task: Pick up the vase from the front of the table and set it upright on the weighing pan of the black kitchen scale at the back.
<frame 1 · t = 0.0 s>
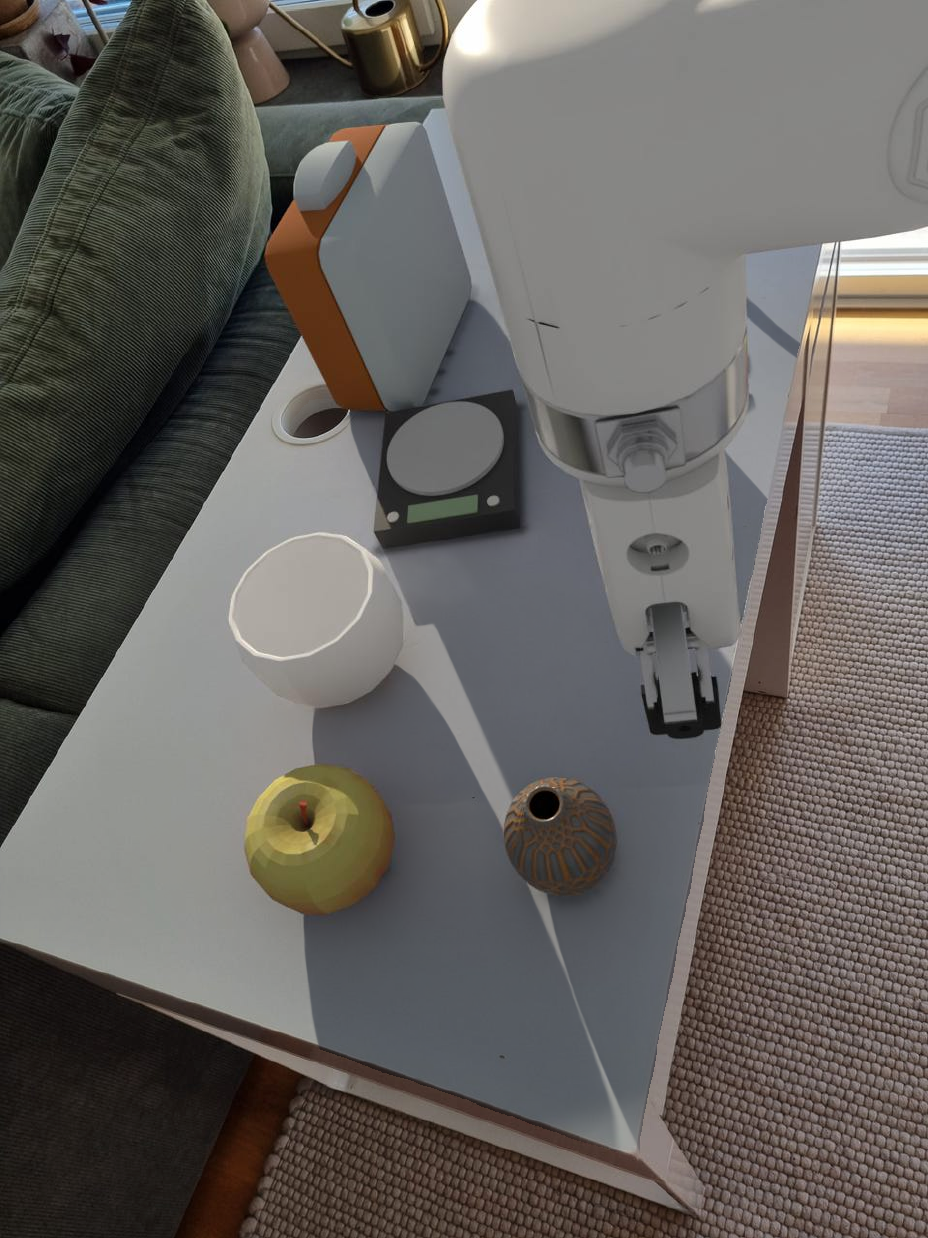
hand: (674, 637, 46), 19 cm above the table, tool pointing down, fingers open, 9 cm apart
alarm clock: (410, 351, 94), on the table
vase: (570, 856, 61), on the table
cup: (594, 372, 85), on the table
apple: (342, 858, 65), on the table
teapot: (582, 221, 98), on the table
cup 2: (349, 663, 75), on the table
scale: (452, 476, 83), on the table
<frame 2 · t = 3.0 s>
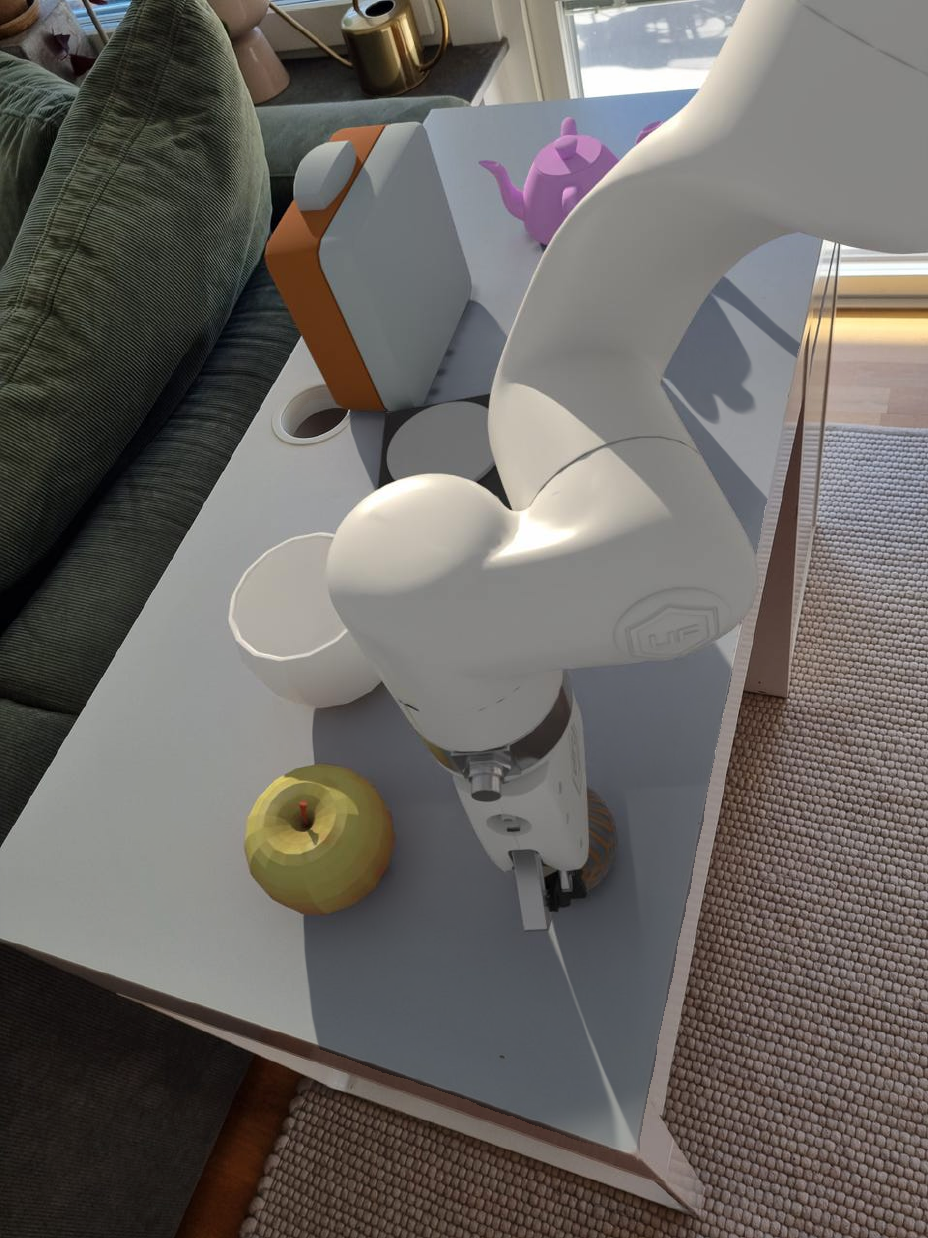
hand: (558, 832, 58), 4 cm above the table, tool pointing down, fingers closed on vase, 6 cm apart
vase: (570, 856, 61), on the table, touching gripper
everything else where it was.
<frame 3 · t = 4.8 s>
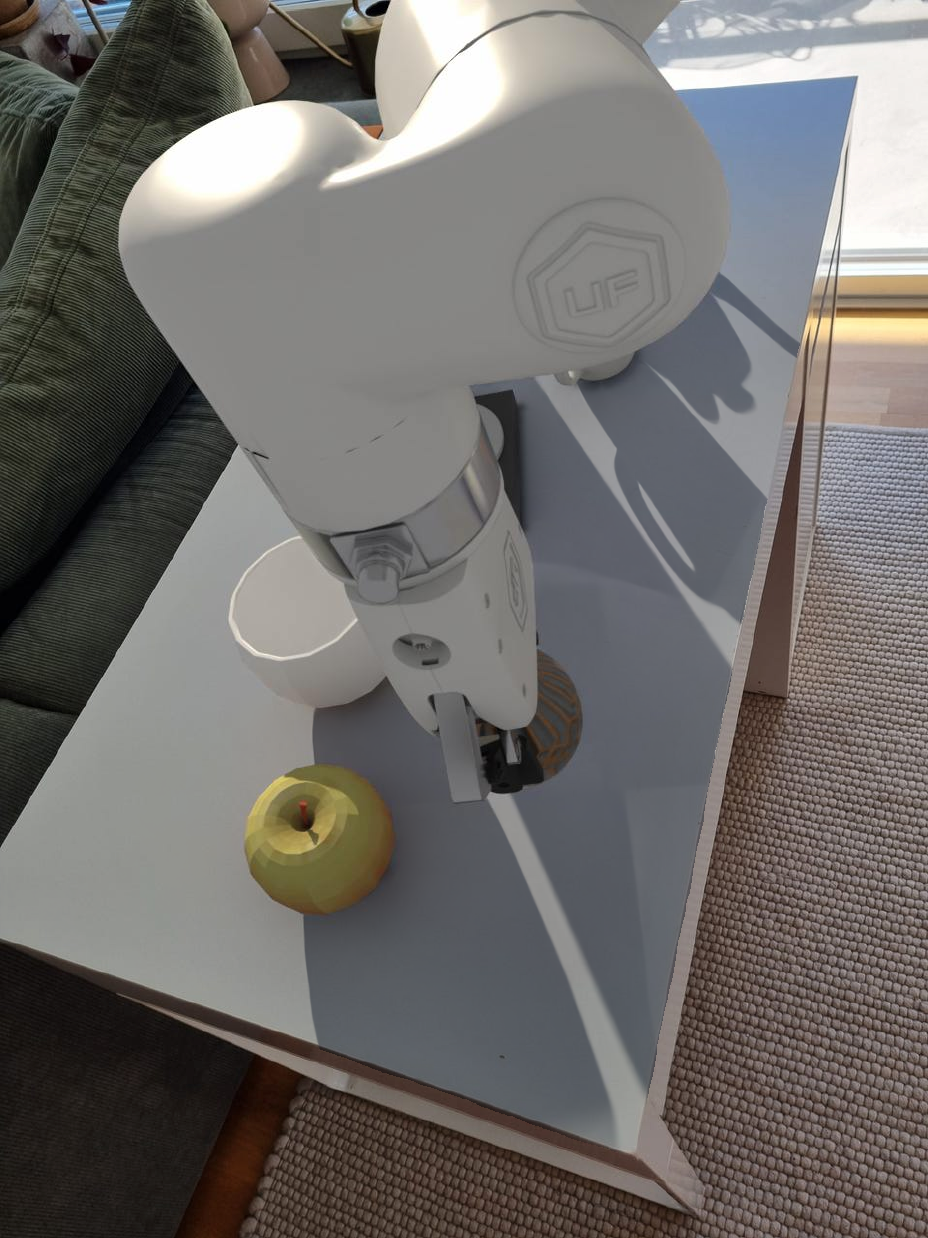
hand: (510, 709, 47), 18 cm above the table, tool pointing down, fingers closed on vase, 6 cm apart
vase: (530, 746, 51), point 14 cm above the table, touching gripper
everything else where it was.
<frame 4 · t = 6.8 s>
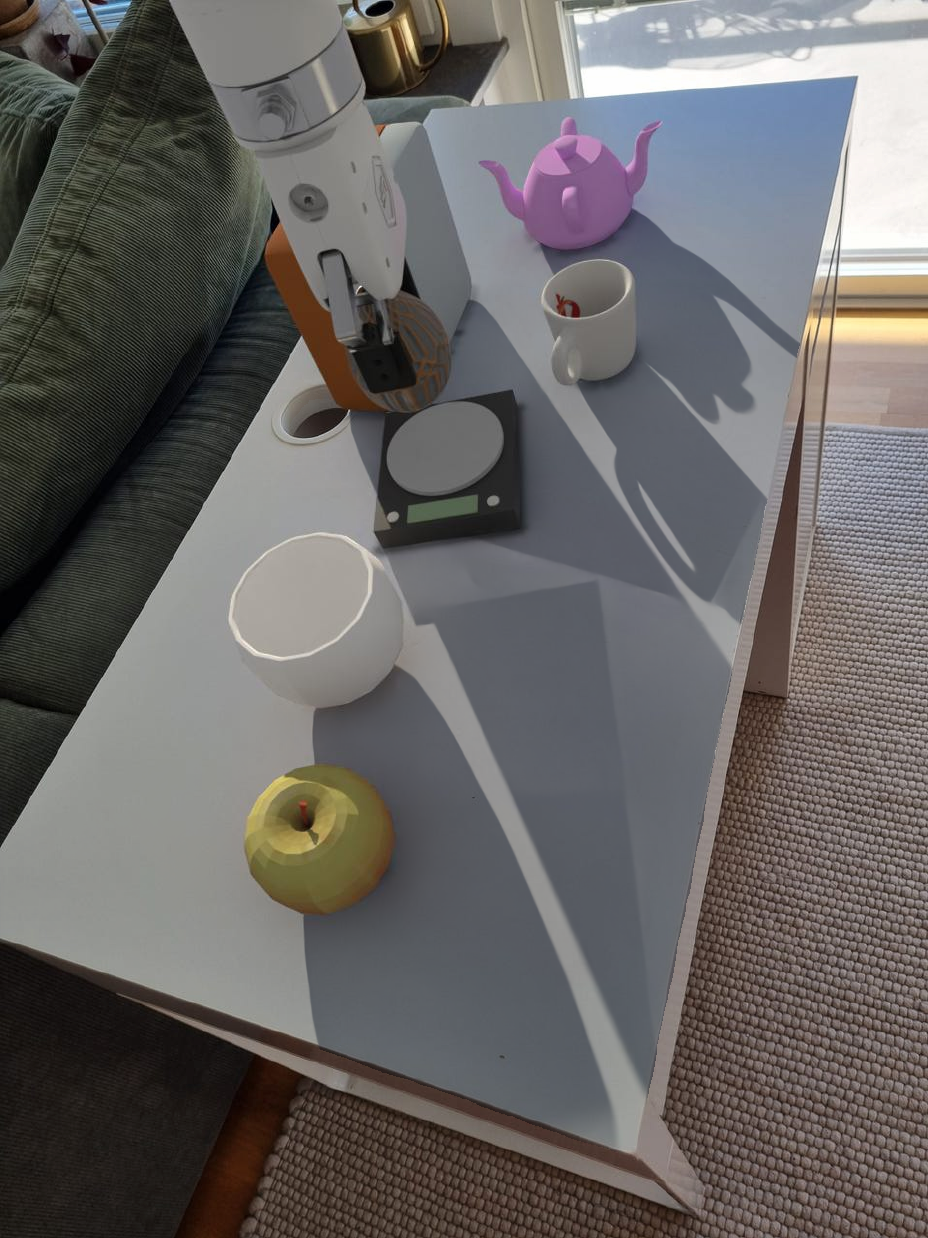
hand: (396, 345, 63), 20 cm above the table, tool pointing down, fingers closed on vase, 6 cm apart
vase: (415, 394, 66), point 15 cm above the table, touching gripper
everything else where it was.
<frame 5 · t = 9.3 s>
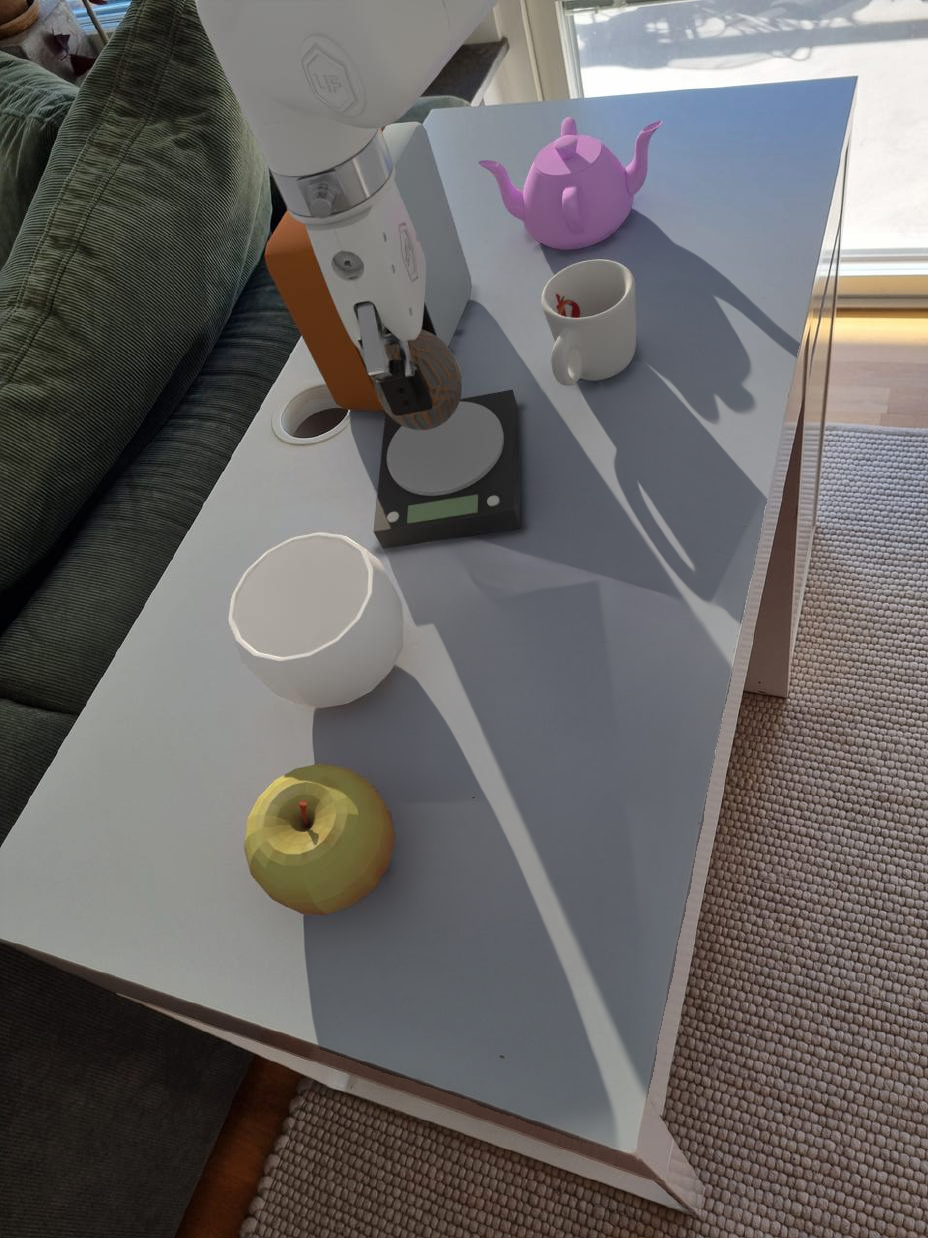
hand: (415, 374, 74), 11 cm above the table, tool pointing down, fingers closed on vase, 6 cm apart
vase: (431, 414, 78), point 7 cm above the table, touching gripper
everything else where it was.
when the fingers open (7 cm above the table, at t = 10.8 s): vase stays where it is, resting on scale.
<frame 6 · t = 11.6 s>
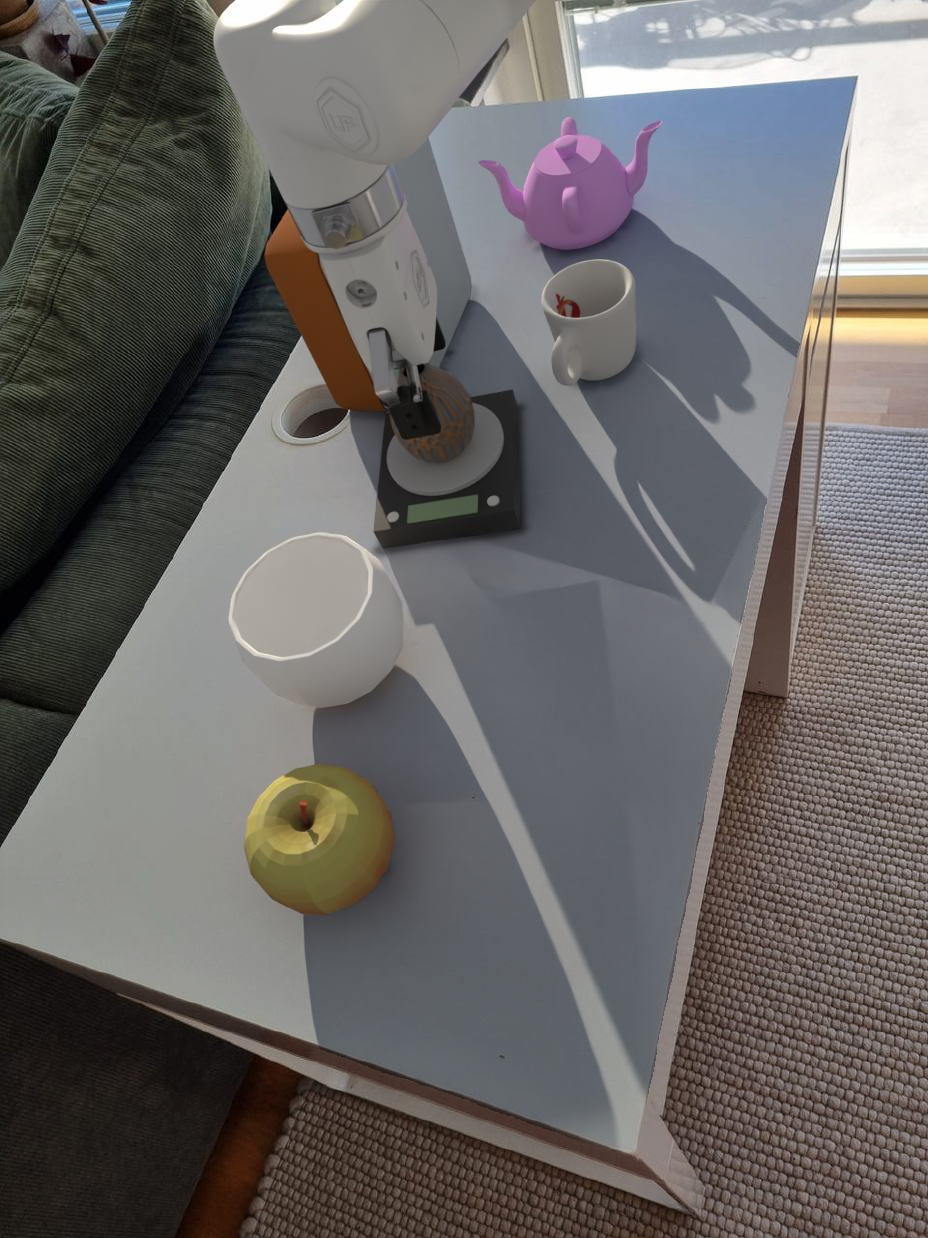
hand: (425, 390, 75), 9 cm above the table, tool pointing down, fingers open, 9 cm apart
vase: (444, 446, 81), point 3 cm above the table, touching scale
everything else where it was.
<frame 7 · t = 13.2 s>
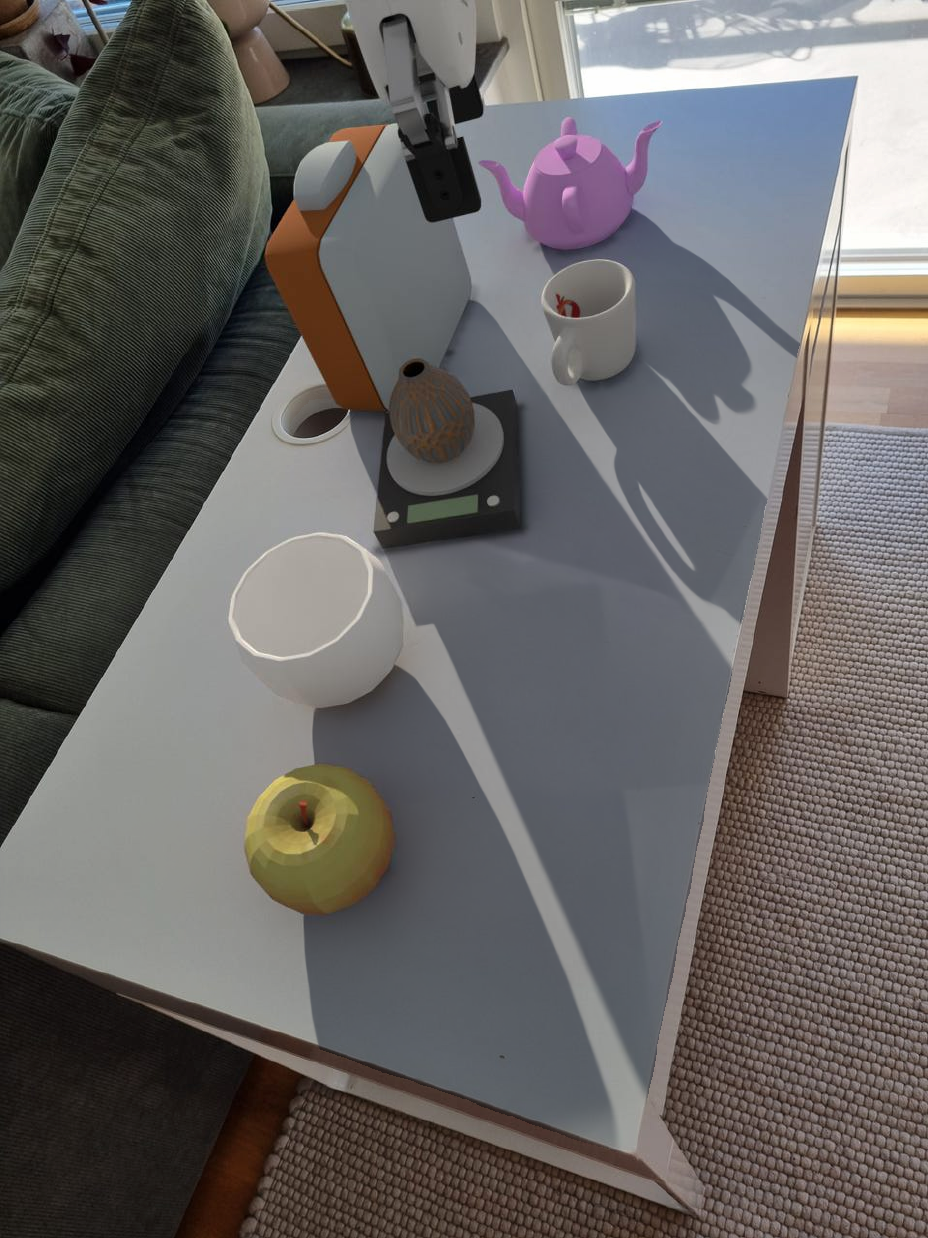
hand: (457, 165, 55), 30 cm above the table, tool pointing down, fingers open, 9 cm apart
nothing on the table moved.
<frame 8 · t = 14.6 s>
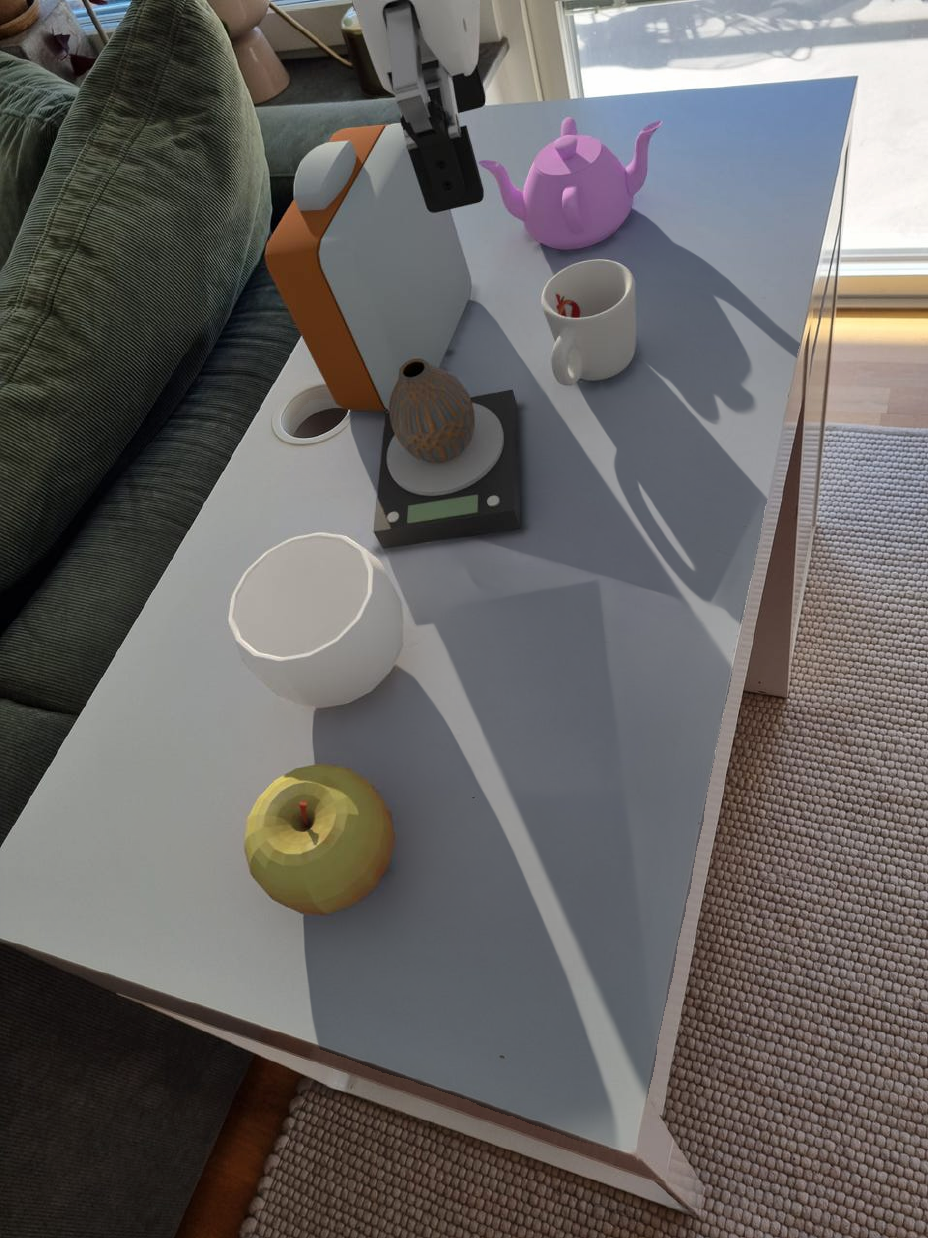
hand: (459, 154, 54), 30 cm above the table, tool pointing down, fingers open, 9 cm apart
nothing on the table moved.
at the end: vase inside the target area on the scale (0.1 cm from its centre), point 2.8 cm above the scale's base; vase tilted 0° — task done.
